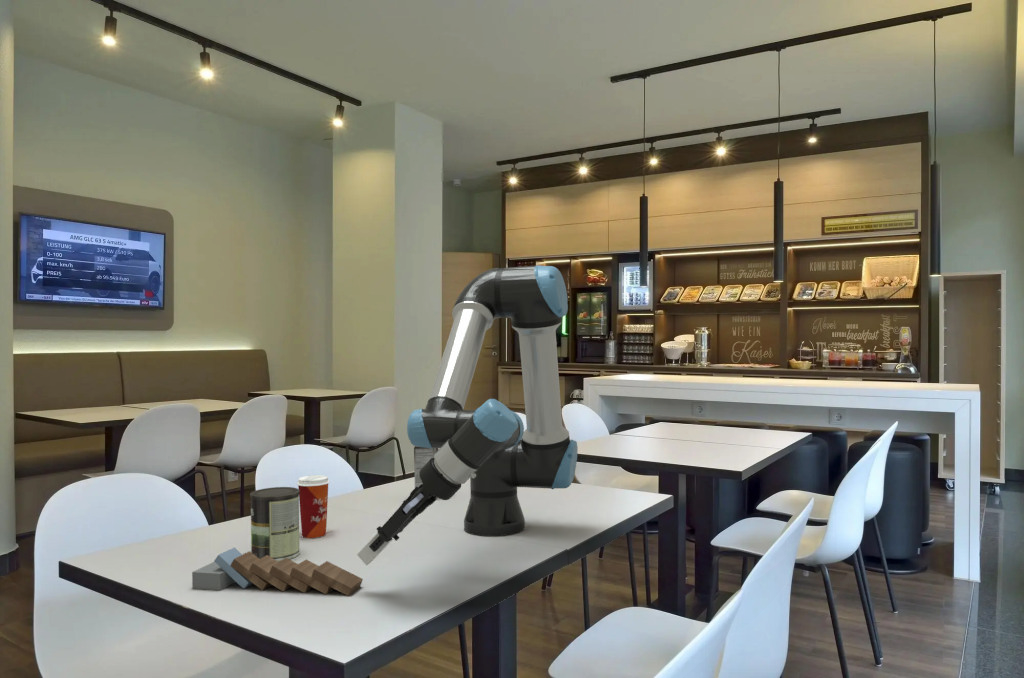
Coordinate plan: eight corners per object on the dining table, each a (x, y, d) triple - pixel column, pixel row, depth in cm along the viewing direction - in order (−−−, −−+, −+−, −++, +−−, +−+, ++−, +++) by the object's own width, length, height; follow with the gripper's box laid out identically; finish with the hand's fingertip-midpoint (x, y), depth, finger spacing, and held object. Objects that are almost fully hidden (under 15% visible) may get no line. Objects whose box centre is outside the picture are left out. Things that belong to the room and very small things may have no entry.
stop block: (245, 576, 139) (245, 561, 139) (220, 590, 131) (220, 573, 131) (218, 574, 140) (218, 559, 141) (192, 588, 133) (192, 572, 133)
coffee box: (418, 494, 215) (418, 442, 216) (439, 494, 215) (438, 442, 216) (414, 501, 206) (413, 446, 207) (435, 500, 206) (435, 446, 206)
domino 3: (300, 575, 135) (267, 555, 136) (286, 584, 130) (252, 562, 132) (297, 582, 135) (264, 562, 137) (283, 591, 130) (249, 570, 132)
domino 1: (263, 574, 137) (234, 547, 138) (248, 582, 132) (218, 554, 133) (258, 580, 137) (230, 553, 138) (243, 588, 132) (214, 561, 133)
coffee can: (244, 563, 148) (243, 497, 148) (258, 550, 158) (257, 487, 158) (294, 561, 149) (293, 495, 149) (304, 548, 159) (303, 486, 159)
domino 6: (363, 579, 132) (326, 561, 134) (351, 588, 127) (313, 569, 129) (360, 586, 132) (324, 568, 134) (348, 595, 127) (311, 577, 129)
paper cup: (321, 540, 165) (320, 480, 165) (291, 538, 167) (290, 480, 167) (336, 531, 173) (335, 474, 173) (307, 530, 174) (306, 474, 175)
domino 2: (280, 574, 136) (249, 551, 137) (266, 583, 131) (234, 558, 132) (277, 581, 136) (245, 557, 137) (262, 590, 131) (230, 565, 133)
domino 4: (320, 576, 134) (286, 557, 136) (307, 585, 129) (272, 565, 131) (317, 584, 134) (283, 565, 136) (304, 593, 129) (269, 573, 131)
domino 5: (341, 577, 133) (306, 559, 135) (329, 586, 128) (292, 567, 130) (338, 585, 133) (303, 566, 135) (326, 594, 128) (289, 575, 130)
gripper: (451, 493, 119) (361, 586, 122) (472, 479, 132) (390, 563, 135) (421, 461, 120) (333, 554, 124) (444, 450, 133) (364, 534, 136)
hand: (363, 558), depth 129 cm, fingers closed
